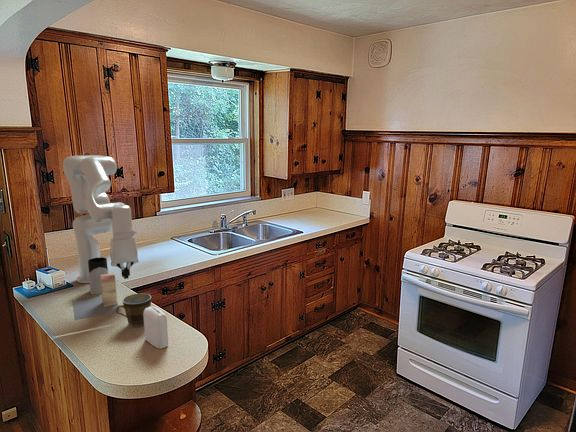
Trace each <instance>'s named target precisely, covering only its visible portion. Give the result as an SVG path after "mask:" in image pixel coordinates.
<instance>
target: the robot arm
mask: <svg viewBox="0 0 576 432" xmlns="http://www.w3.org/2000/svg"><path fill="white" fill-rule="evenodd" d="M62 168H63V173H64V175H65V178H66V179H67V182H68V183H69V186H70V187H69V188H70V194H71V200H72V206H73V209H74V211H75V212H76V213H77V214H85V213H88V215H81V216H78V217H76V218H74V219H73V221H72V230H73V232H74V236H75V237H74V238H75V241H76V242H75V243H76V250H77V260H78V269H79V276H78V277H76V282H77V283H80V284H90V282H89V272H88V271H89V267H88V260H90V259H93V258H100V257H101V251H100V249H101V248H100V242H99V241H98V240H97V239H96V238H95V237H94V236H95V235H99V234H100V235H101V234H104V233H109V232H111V231H112V238H111V239H110V247H109V249H110V251H109V252H110V265H111V267H114V268H115V267H117V268H118V269H120V270H121V277H122V278H123V279H124V280H126V279H129V276H131V272H130V270H131V268H132V266H133V265H135V264H138V263H139V254H138V247H137V246H138V245H137V242H136V238H135V235H137V230H133V221H132V219H133V217H132V208H131V207H130V205H127V204H125V203H123V202H120V201H119V202H118V201H117V202H111V201H110V198H109V196H108V194H107V193H106V192H107V191H109V189H110V188H111V187H112V183H111V180H110V178H109V176H112V175H115V174H116V173H117V170H118V167H117V163H116V161H115V159H114V158H113V157H111V156H107V155H100V154H99V155H98V154H97V155H96V154H95V155H89V154H88V155H72V156H71V155H70V156H66V157H65V158H64V160H63V162H62ZM124 263H125V264H126V265H124Z"/></svg>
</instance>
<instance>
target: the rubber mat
mask: <svg viewBox="0 0 576 432" xmlns="http://www.w3.org/2000/svg"><path fill="white" fill-rule="evenodd" d="M118 306H120V305H119V303H118V302H117V304H116V305H111V306H106V307H104V305H103V301H102V295H99V296H95V297H89V298H88V297H87V298H84V299H83V298H82V299H79V300H78V299H77V300H73V301H72V308H73V316H74V321H78V320H82V319H89V318H93V317H97V316H98V317H99V316H102V315H103V316H104V315H107V314H113V313H117V312H116V309H117V307H118ZM118 312H119V313H120V312H121V307H120V308H119V309H118Z"/></svg>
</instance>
